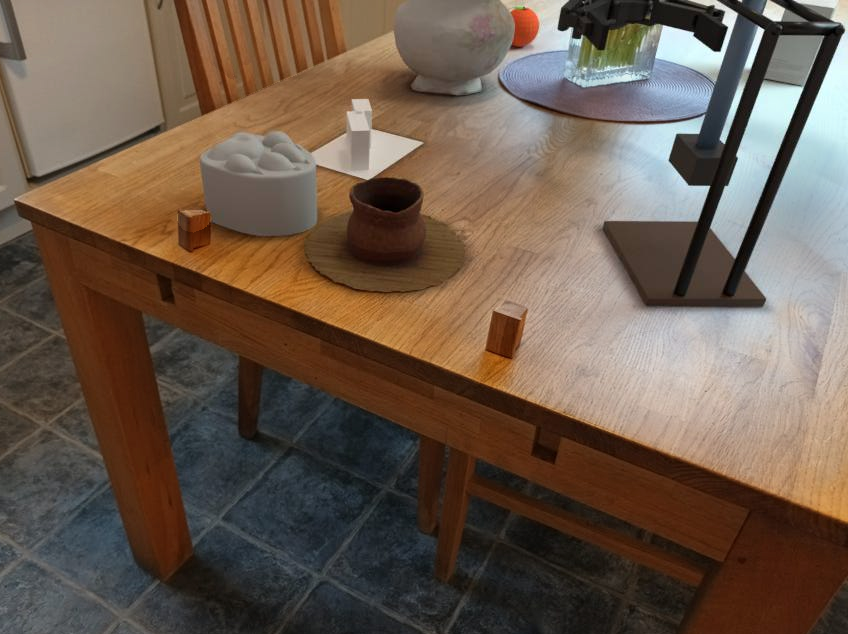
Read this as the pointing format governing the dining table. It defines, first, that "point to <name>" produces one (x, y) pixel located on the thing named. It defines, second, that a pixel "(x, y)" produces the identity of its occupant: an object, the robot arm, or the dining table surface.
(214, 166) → the lumpy-topped squat cylinder
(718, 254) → the desk lamp
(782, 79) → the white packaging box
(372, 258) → the ceramic pot
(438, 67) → the grey round vase
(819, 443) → the dining table surface
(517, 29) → the clementine
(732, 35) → the brush
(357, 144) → the napkin holder
